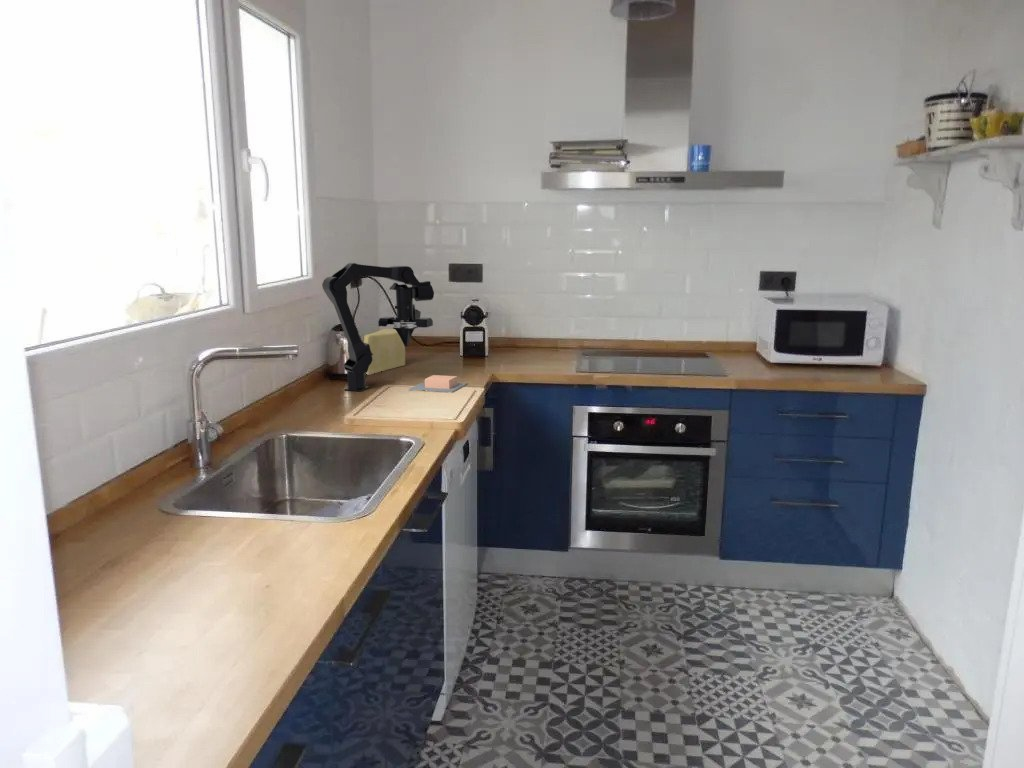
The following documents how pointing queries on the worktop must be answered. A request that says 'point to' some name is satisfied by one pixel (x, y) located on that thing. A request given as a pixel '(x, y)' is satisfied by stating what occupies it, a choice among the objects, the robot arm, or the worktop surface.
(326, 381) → the worktop surface
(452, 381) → the slab
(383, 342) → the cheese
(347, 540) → the worktop surface
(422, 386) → the mat
